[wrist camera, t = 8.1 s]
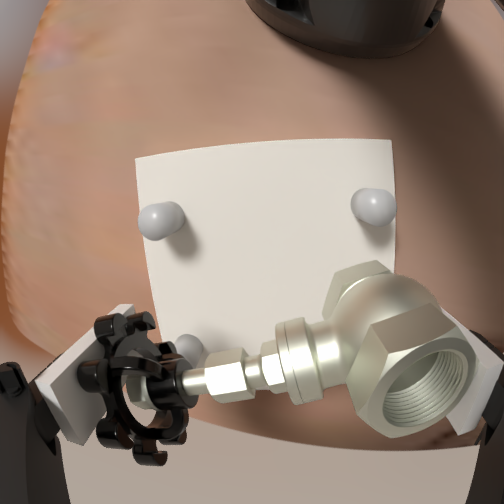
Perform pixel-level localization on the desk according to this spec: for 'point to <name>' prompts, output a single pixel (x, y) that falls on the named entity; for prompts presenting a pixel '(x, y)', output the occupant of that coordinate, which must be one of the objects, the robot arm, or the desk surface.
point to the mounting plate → (259, 234)
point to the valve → (294, 364)
